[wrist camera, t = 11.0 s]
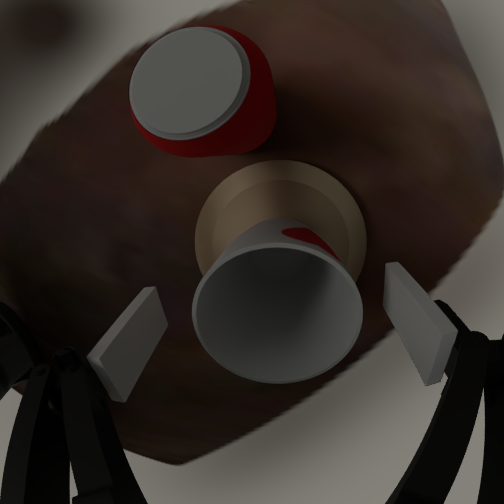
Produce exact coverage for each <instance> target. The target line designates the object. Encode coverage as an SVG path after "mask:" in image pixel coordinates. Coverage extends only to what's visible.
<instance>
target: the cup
mask: <svg viewBox="0 0 504 504" xmlns="http://www.w3.org/2000/svg"><path fill="white" fill-rule="evenodd" d="M192 318H193V324H194V328H195V331H196V334H197V336H198V338H199V340H200V342H201V344H202V346H203V347H204V348H205V350H206V351H207V352H208V353H209V355H210V356H211V357H212V358H213V359H214V360H215V361H217V362H218V363H219V364H220V365H222V366H223V367H224V368H226V369H228V370H229V371H231V372H233V373H235V374H237V375H239V376H242V377H244V378H247V379H250V380H254V381H258V382H264V383H278V384H279V383H293V382H298V381H303V380H306V379H310V378H312V377H315V376H317V375H320V374H322V373H324V372H325V371H327V370H329V369H330V368H332V367H333V366H335V365H336V364H337V363H338V362H340V361H341V360H342V359H343V358H344V357H345V356H346V355H347V353H348V352H349V351H350V350H351V348H352V347H353V345H354V343H355V342H356V340H357V338H358V335H359V332H360V329H361V325H362V319H363V307H362V301H361V297H360V294H359V291H358V289H357V286H356V285H355V283H354V281H353V279H352V278H351V276H350V275H349V273H348V271H347V270H346V268H345V267H344V265H343V264H342V262H341V261H340V259H339V257H338V256H337V254H336V253H335V251H334V250H333V248H332V247H331V246H330V245H329V244H328V242H327V241H326V240H324V239H323V238H322V237H321V236H320V235H318V234H317V233H316V232H315V231H313V230H312V229H311V228H310V227H308V226H307V225H305V224H303V223H301V222H299V221H297V220H293V219H289V218H271V219H267V220H264V221H261V222H259V223H257V224H255V225H254V226H252V227H251V228H249V229H248V230H246V231H245V232H243V233H242V234H240V235H239V236H238V237H236V238H235V239H234V240H233V241H232V242H231V243H230V244H229V245H228V246H227V248H226V249H225V250H224V251H223V253H222V254H221V255H220V256H219V258H218V259H217V260H216V262H215V263H214V264H213V265H212V267H211V268H210V269H209V270H208V272H207V273H206V274H205V276H204V277H203V278H202V280H201V282H200V283H199V285H198V287H197V290H196V292H195V295H194V299H193V305H192Z"/></svg>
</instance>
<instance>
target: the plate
mask: <svg viewBox="0 0 504 504" xmlns="http://www.w3.org/2000/svg"><path fill="white" fill-rule="evenodd" d="M271 218H289V219H293V220H297V221H299V222H301V223H303V224H305V225H307V226H308V227H310V228H311V229H312V230H313V231H315V232H316V233H317V234H318V235H320V236H321V237H322V238H323V239H324V240H326V241H327V242H328V244H329V245H330V246H331V247H332V248H333V250H334V251H335V253H336V254H337V256H338V257H339V259H340V261H341V262H342V264H343V265H344V267H345V268H346V270H347V271H348V273H349V275H350V276H351V278H352V279H353V281H354V283H356V281H357V279H358V277H359V275H360V273H361V270H362V267H363V264H364V261H365V256H366V247H367V237H366V228H365V224H364V220H363V217H362V214H361V212H360V209H359V207H358V205H357V204H356V202H355V200H354V198H353V197H352V196H351V194H350V193H349V192H348V190H347V189H346V188H345V187H344V186H343V185H342V184H341V183H340V182H339V181H337V180H336V179H335V178H333V177H332V176H331V175H329V174H328V173H326V172H324V171H322V170H321V169H319V168H317V167H314V166H311V165H309V164H306V163H302V162H298V161H292V160H269V161H264V162H259V163H255V164H252V165H250V166H247V167H244V168H243V169H241V170H239V171H237V172H235V173H233V174H232V175H230V176H229V177H228V178H226V179H225V180H224V181H223V182H221V183H220V184H219V185H218V186H217V187H216V188H215V190H214V191H213V192H212V193H211V195H210V196H209V197H208V199H207V201H206V202H205V204H204V206H203V208H202V210H201V212H200V215H199V218H198V222H197V225H196V232H195V251H196V257H197V261H198V265H199V268H200V270H201V273H202V275H203V277H204V276H205V274H206V273H207V272H208V270H209V269H210V268H211V267H212V265H213V264H214V263H215V262H216V260H217V259H218V258H219V256H220V255H221V254H222V253H223V251H224V250H225V249H226V248H227V246H228V245H229V244H230V243H231V242H232V241H233V240H234V239H235V238H236V237H238V236H239V235H240V234H242V233H243V232H245V231H246V230H248V229H249V228H251V227H252V226H254V225H255V224H257V223H259V222H261V221H264V220H267V219H271Z"/></svg>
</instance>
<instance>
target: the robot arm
mask: <svg viewBox="0 0 504 504" xmlns="http://www.w3.org/2000/svg"><path fill="white" fill-rule="evenodd" d="M383 308H384V309H385V311H386V313H387V315H388V316H389V318H390V320H391V322H392V323H393V325H394V327H395V329H396V330H397V332H398V334H399V336H400V337H401V339H402V341H403V343H404V345H405V347H406V349H407V351H408V352H409V354H410V356H411V358H412V360H413V362H414V364H415V366H416V368H417V370H418V372H419V374H420V376H421V378H422V380H423V382H424V384H425V386H428V385H432V384H435V383H438V382H441V379H442V377H443V374H444V372H445V374H446V375H447V377H448V379H447V382H446V385H445V386H444V389H443V391H442V393H441V398H440V401H439V403H438V406H437V408H436V411H435V413H434V416H433V418H432V420H431V423H430V425H429V427H428V429H427V432H426V434H425V436H424V438H423V440H422V442H421V444H420V446H419V448H418V450H417V452H416V454H415V456H414V458H413V459H412V461H411V463H410V465H409V467H408V468H407V470H406V472H405V474H404V475H403V477H402V478H401V480H400V482H399V483H398V485H397V487H396V488H395V490H394V491H393V493H392V494H391V496H390V497H389V499H388V500H387V502H386V503H385V504H444V501H445V499H446V497H447V495H448V493H449V491H450V489H451V487H452V485H453V482H454V480H455V478H456V475H457V473H458V471H459V468H460V466H461V463H462V460H463V458H464V455H465V453H466V450H467V447H468V444H469V441H470V438H471V435H472V431H473V428H474V425H475V421H476V417H477V414H478V409H479V406H480V401H481V397H482V392H483V387H484V401H485V442H484V457H483V468H482V477H481V483H480V490H479V495H478V501H477V504H504V334H503V336H502V339H501V340H489V339H488V337H487V336H486V335H484V334H483V333H481V332H478V331H470V330H469V329H468V328H467V326H466V325H465V324H464V323H463V322H462V320H461V319H460V318H459V317H458V316H457V315H456V313H455V312H454V311H453V310H452V309H451V308H450V307H449V306H448V304H446V303H444V302H443V301H441V300H435V301H433V300H432V299H431V298H430V296H429V295H428V294H427V293H426V292H425V291H424V290H423V288H422V287H421V286H420V285H419V284H418V283H417V282H416V281H415V280H414V279H413V277H412V276H411V275H410V274H409V273H408V272H407V271H406V270H405V269H404V268H403V267H402V266H401V265H400V264H399V263H398V262H392V263H386V264H385V283H384V296H383ZM167 326H168V323H167V320H166V318H165V315H164V312H163V309H162V306H161V302H160V299H159V296H158V293H157V290H156V287H145V288H144V289H143V290H142V291H141V292H140V293H139V294H138V296H137V297H136V298H135V299H134V300H133V301H132V302H131V304H130V305H129V306H128V307H127V308H126V309H125V311H124V312H123V313H122V314H121V315H120V317H119V318H118V319H117V320H116V321H115V322H114V324H113V325H112V326H111V327H110V329H108V330H106V331H105V332H104V333H102V334H101V335H100V336H99V337H98V339H97V340H96V341H95V342H94V344H93V346H91V347H90V348H89V350H88V351H87V352H86V353H85V355H84V356H83V357H82V358H81V359H80V357H79V355H78V353H77V352H76V350H75V348H74V347H73V346H65V347H62V348H60V349H59V350H57V351H56V352H55V353H54V355H53V357H52V359H53V361H54V363H55V364H56V366H57V368H58V369H59V371H52V369H51V367H50V366H49V365H48V364H42V362H41V357H40V355H39V352H38V350H37V347H36V345H35V344H34V342H33V340H32V338H31V336H30V335H29V333H28V332H27V330H26V329H25V327H24V326H23V324H22V323H21V322H20V320H19V319H18V318H17V317H16V316H15V314H14V313H13V312H12V311H11V310H10V309H9V308H8V307H7V306H5V305H4V304H2V303H1V302H0V400H1V399H2V398H3V397H4V395H5V394H6V393H7V392H8V391H9V390H10V388H11V387H13V386H15V385H17V384H19V383H21V382H23V381H25V380H27V379H28V382H27V385H26V388H25V391H24V393H23V396H22V399H21V402H20V406H19V409H18V413H17V416H16V419H15V422H14V426H13V430H12V434H11V438H10V442H9V446H8V451H7V457H6V461H5V466H4V472H3V479H2V487H1V496H0V504H70V489H69V488H70V462H71V466H72V471H73V475H74V479H75V483H76V487H77V490H78V495H77V496H75V497H73V498H72V504H148V503H147V501H146V499H145V498H144V495H143V493H142V492H141V489H140V487H139V485H138V483H137V481H136V479H135V477H134V474H133V472H132V470H131V468H130V466H129V463H128V460H127V458H126V456H125V453H124V451H123V448H122V445H121V443H120V440H119V437H118V434H117V431H116V429H115V426H114V423H113V420H112V416H111V413H110V410H109V407H108V403H107V401H106V399H105V398H104V396H105V395H106V393H108V394H109V396H110V397H111V399H112V400H113V401H118V402H124V403H125V402H126V400H127V398H128V396H129V394H130V393H131V391H132V389H133V387H134V385H135V383H136V382H137V380H138V378H139V376H140V374H141V372H142V371H143V369H144V367H145V365H146V363H147V362H148V360H149V358H150V356H151V355H152V353H153V351H154V349H155V347H156V346H157V344H158V342H159V340H160V339H161V337H162V335H163V333H164V332H165V330H166V328H167ZM48 403H49V404H50V405H51V409H49V405H48Z"/></svg>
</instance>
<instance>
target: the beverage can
mask: <svg viewBox="0 0 504 504" xmlns="http://www.w3.org/2000/svg"><path fill="white" fill-rule="evenodd" d="M129 103H130V110H131V114H132V117H133V119H134V122H135V124H136V126H137V128H138V129H139V131H140V132H141V133H142V135H143V136H144V137H145V138H146V139H147V140H148V141H149V142H150V143H152V144H153V145H154V146H156V147H157V148H159V149H161V150H163V151H165V152H167V153H170V154H173V155H177V156H182V157H193V158H194V157H208V156H220V155H233V154H242V153H246V152H249V151H251V150H254V149H255V148H257V147H259V146H260V145H261V144H263V143H264V142H265V141H266V140H267V139H268V137H269V136H270V135H271V133H272V131H273V129H274V127H275V124H276V120H277V106H276V99H275V92H274V86H273V79H272V73H271V69H270V66H269V64H268V61H267V59H266V57H265V55H264V54H263V52H262V51H261V50H260V48H259V47H258V46H257V45H256V44H255V43H254V42H253V41H252V40H250V39H249V38H248V37H246V36H245V35H243V34H241V33H239V32H237V31H235V30H233V29H230V28H226V27H222V26H216V25H199V26H192V27H186V28H182V29H178V30H176V31H173V32H171V33H169V34H167V35H165V36H163V37H161V38H160V39H158V40H157V41H156V42H154V43H153V44H152V45H151V46H150V47H149V48H148V49H147V50H146V51H145V52H144V53H143V54H142V56H141V57H140V59H139V60H138V62H137V64H136V65H135V67H134V70H133V72H132V75H131V78H130V83H129Z"/></svg>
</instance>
